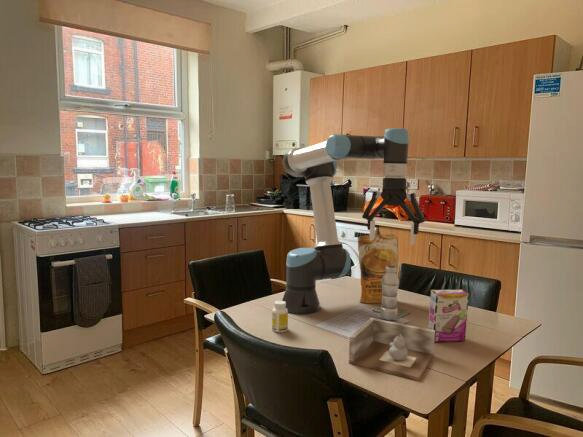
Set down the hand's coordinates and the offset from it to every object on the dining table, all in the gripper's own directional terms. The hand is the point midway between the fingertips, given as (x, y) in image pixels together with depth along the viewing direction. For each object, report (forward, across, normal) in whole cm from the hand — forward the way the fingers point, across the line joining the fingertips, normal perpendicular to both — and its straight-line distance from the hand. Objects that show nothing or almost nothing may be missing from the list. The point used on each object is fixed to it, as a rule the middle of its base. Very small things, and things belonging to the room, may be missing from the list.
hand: (391, 242), depth 143 cm
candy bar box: (+32, +18, +6) cm, 37 cm away
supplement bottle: (+32, -33, -16) cm, 49 cm away
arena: (+32, +7, -18) cm, 37 cm away
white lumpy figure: (+31, +9, -19) cm, 37 cm away
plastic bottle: (+32, -4, +14) cm, 35 cm away
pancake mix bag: (+32, -15, +33) cm, 48 cm away
